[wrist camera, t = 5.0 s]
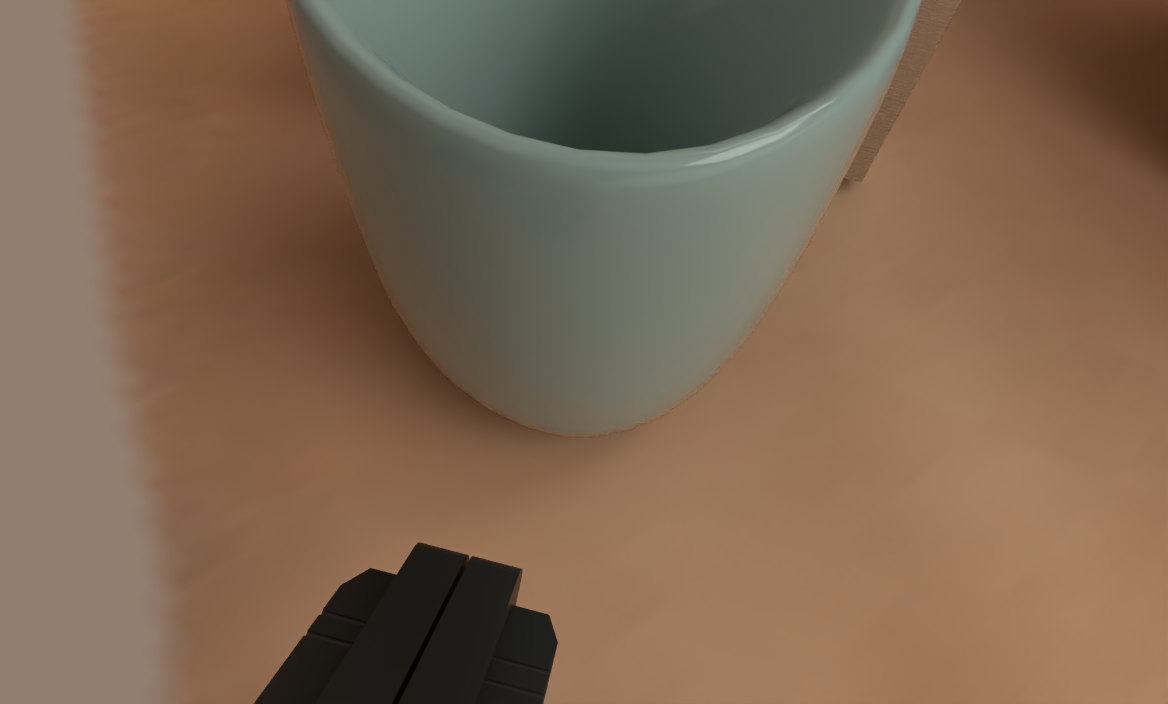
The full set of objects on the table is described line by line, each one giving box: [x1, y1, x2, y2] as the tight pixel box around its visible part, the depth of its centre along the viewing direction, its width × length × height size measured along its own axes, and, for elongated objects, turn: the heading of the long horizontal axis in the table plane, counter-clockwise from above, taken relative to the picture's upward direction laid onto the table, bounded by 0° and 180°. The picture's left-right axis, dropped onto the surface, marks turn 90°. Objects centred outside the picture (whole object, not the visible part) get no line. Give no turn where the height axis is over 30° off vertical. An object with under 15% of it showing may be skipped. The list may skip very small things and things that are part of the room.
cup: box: [286, 0, 922, 437], centre depth 14 cm, size 8×8×10 cm
